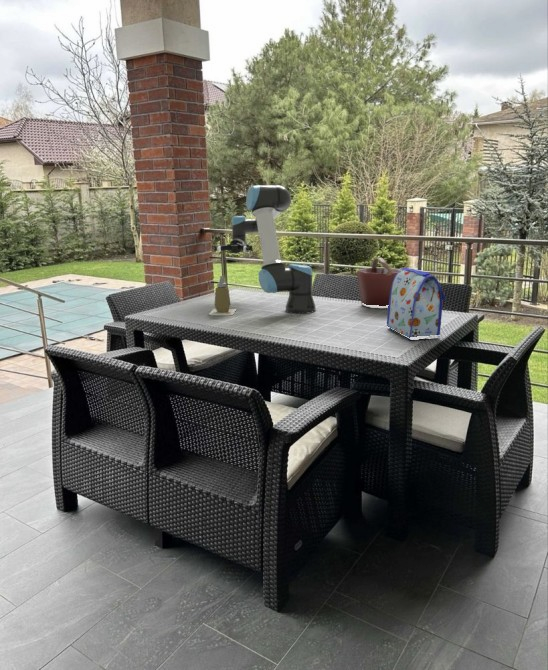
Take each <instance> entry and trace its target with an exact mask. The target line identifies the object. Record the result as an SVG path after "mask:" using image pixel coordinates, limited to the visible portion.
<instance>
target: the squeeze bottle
mask: <svg viewBox="0 0 548 670" xmlns="http://www.w3.org/2000/svg"><path fill="white" fill-rule="evenodd" d="M214 296H215V297H214V307H215V309H216V310H217V312H228V311H229V309H231V307H230V306H231V299H230V289H229V287H227V282H225V281H224V275H220V276H219V282H217V283H216V287H215V294H214Z"/></svg>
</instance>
